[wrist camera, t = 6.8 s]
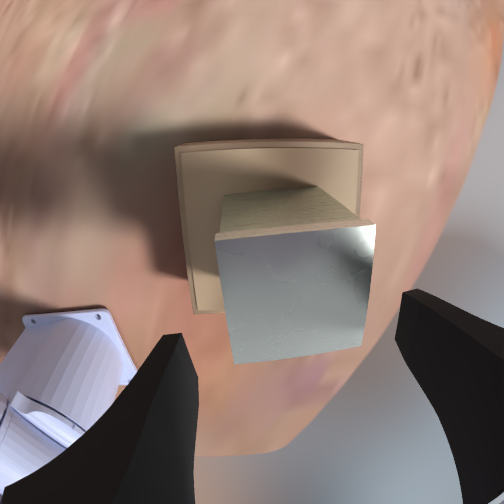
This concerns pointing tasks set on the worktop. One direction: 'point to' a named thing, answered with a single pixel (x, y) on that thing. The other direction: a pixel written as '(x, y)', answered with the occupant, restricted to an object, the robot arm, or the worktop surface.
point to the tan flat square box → (251, 180)
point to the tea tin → (293, 273)
